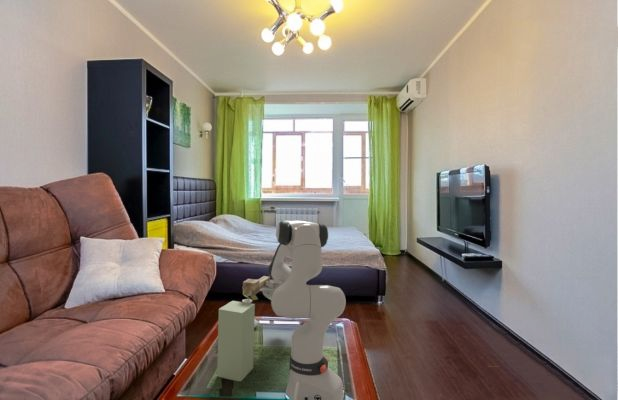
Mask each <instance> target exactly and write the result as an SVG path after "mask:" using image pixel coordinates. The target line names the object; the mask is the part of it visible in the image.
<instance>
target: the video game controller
mask: <svg viewBox="0 0 618 400" xmlns="http://www.w3.org/2000/svg"><path fill="white" fill-rule="evenodd" d="M308 320H309V318H305V319H304V320H303V321H302V322H301V323H300V325H303V324H305V323H306V322H307V321H308ZM300 325H299V326H300Z"/></svg>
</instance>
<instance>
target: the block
mask: <svg viewBox="0 0 618 400" xmlns="http://www.w3.org/2000/svg"><path fill="white" fill-rule="evenodd" d="M270 280H271V277H270V276H269V275H268V276H266V275H263V276H262V277H260V278H258V279H257V280H256V279H253V278H247V279H246V280H244V281H242V288H243V289H242V295H243V294H244V295H245V294H247V295H257V294H258V293H260V291H259V290H260V289H262V288H263V287H265V286H266V285H264V283H265V281H270ZM247 295H246V296H247Z"/></svg>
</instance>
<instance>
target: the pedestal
mask: <svg viewBox="0 0 618 400" xmlns="http://www.w3.org/2000/svg"><path fill="white" fill-rule="evenodd" d="M255 305H256V304H255V303H252V302H251V303H244V302H242V301H237V300H232V301H229V302H228V303H226V304H225V305H223V306H221V307H219V308H218V319H217V320H218V323H217V325H218V326H217V331H218V332H217V362H216V363H217V365H216V367H217V370H216V371H217V374H216V375H217V377H218V378H222V379H226V380H231V381H235V382H239V381H241V382H242V381H243V380H244V379H245V378H246V377H247V375H248V374H250V373H251V371H252V370H253V369H254V354H255V353H254V351H255V349H254V348H255V347H254V345H255V328H254V319H255V316H256V315H255V314H256V313H255V312H256V311H255V310H256V309H255V308H256V306H255Z"/></svg>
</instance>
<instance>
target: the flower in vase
mask: <svg viewBox="0 0 618 400" xmlns="http://www.w3.org/2000/svg"><path fill="white" fill-rule="evenodd" d="M242 290H243V287H242ZM242 295H243V296H244V297H245V299H242V301H241V302H244V303H251V304H252V302H253V301H257V300H259V298H258V297H257V294H255V295H247V294H243V293H242ZM258 324H259V323H258V320H257V319H256V318H254V329H256V328H257V326H258Z"/></svg>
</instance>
